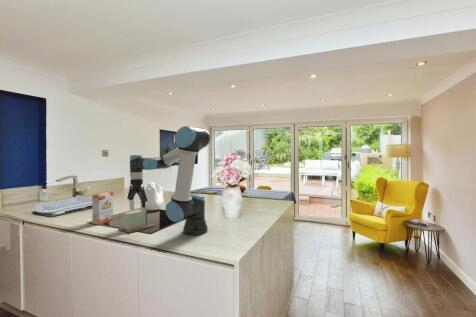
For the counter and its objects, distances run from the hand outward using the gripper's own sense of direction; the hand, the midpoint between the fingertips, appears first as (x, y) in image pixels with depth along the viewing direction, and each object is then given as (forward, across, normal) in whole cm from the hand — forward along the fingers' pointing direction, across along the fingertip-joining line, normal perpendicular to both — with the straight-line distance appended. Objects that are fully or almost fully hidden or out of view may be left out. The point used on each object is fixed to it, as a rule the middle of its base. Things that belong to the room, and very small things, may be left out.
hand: (137, 211), depth 158 cm
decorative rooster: (+11, -38, +39) cm, 55 cm away
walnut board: (+11, 0, 0) cm, 11 cm away
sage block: (+5, 0, -8) cm, 9 cm away
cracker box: (+11, -34, -7) cm, 36 cm away
